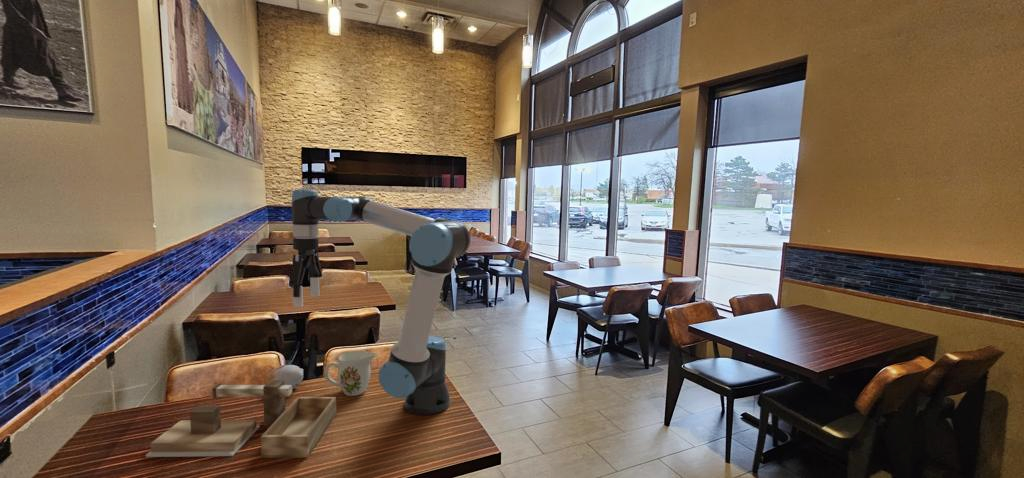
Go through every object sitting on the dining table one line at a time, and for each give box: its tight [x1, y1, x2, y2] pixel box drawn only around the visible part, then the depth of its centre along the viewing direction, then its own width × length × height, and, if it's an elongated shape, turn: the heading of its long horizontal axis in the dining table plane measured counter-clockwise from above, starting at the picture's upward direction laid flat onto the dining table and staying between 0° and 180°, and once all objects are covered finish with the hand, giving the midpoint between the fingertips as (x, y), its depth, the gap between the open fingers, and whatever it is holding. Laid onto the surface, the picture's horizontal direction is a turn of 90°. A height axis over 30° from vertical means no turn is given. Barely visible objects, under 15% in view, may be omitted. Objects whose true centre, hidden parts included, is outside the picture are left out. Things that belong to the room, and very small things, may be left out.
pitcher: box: [324, 350, 378, 397], centre depth 151 cm, size 11×18×14 cm, turn 96°
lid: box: [150, 405, 257, 452], centre depth 119 cm, size 12×21×9 cm, turn 94°
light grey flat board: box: [145, 424, 261, 458], centre depth 120 cm, size 22×14×1 cm, turn 94°
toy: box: [267, 364, 304, 390], centre depth 153 cm, size 13×9×15 cm
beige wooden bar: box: [211, 382, 293, 399], centre depth 129 cm, size 22×3×3 cm, turn 94°
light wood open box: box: [260, 379, 337, 459], centre depth 124 cm, size 19×22×12 cm
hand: (307, 301), depth 140 cm, fingers open, 13 cm apart
